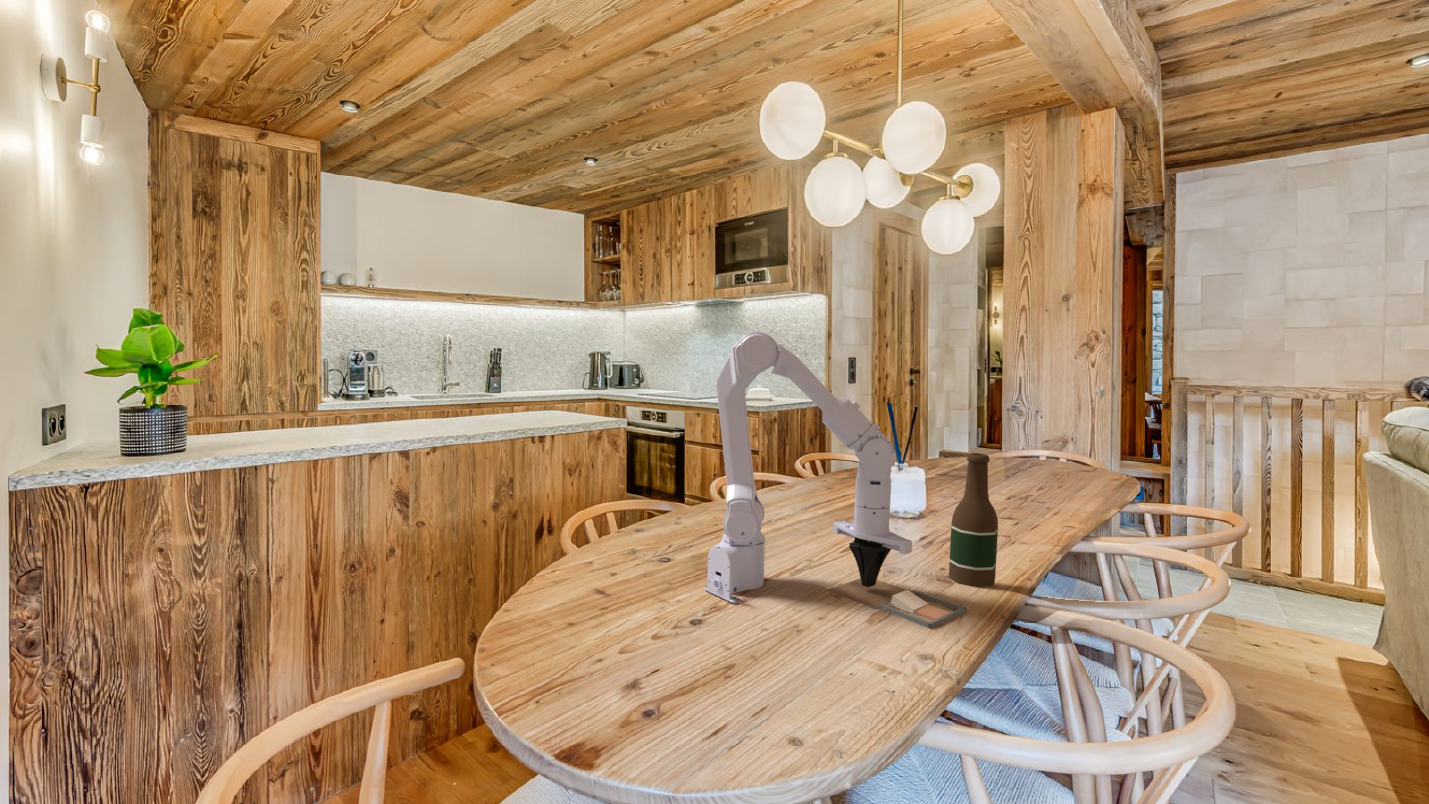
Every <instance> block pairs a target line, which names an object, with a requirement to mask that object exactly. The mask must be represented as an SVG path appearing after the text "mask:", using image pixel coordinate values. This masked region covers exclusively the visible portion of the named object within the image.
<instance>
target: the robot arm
mask: <svg viewBox="0 0 1429 804" xmlns="http://www.w3.org/2000/svg"><path fill="white" fill-rule="evenodd" d="M771 367H773V368H772V371H771V374H774V375H777V376H782V377H783V378H788V379H789V380H790V381H791V382H792V383H793V384H794V385H795V386H796V387H797V388H798V389H799V390H801V392H803V394H805V396H807V398H809V400H811V401H812V402H813V403H814V404H815V405H816V406H817V407H818V408H819V409H820V410H821V412H822V418H821V421H822V422H821V423H822V424H823V425H825V427H827V428H828V430H829V431H830V432H832V433H833V434H834V436H835V437H836V438H837V439H838V440H839V441H841V443H842V444H843V445H844V446H845V447H846V448H847V449H848V450H853V451H854V454H855V456H856V458H857V459H858V461H857V471H856V473H857V474H856V475H855V476H856V477H855V491H854V511H853V512H854V513H853V514H854V516H853V522H847V521H844V520H839V521H834V522H833V525H832V527H833V528H832V530H833V531H832V533H833V534H835V535H842V536H843V535H844V536H846V537H849V538H854V540H853V542H850V543H849V547H848V549H850V551H851V553H852V555H853V557H854V559H855V562H856V565H857V567H858V568H857V569H858V572H859V577H860V578H859V579H861V583H862V585H863V586H866V587H871V586H874V585H875V584H876V581H877V580H878V577H879V574H880V571H881V569H882V566H883V564H884V562H885V561H886V558H887V557H888V555H889V554H890V553H891V551H892V550H894V551H897V552H899V554H902V555H908V554H911V553H912V549H913V540H911V539H908V538H905V537H903V536H901V535H899V534H896V533H894V532H893V531H891V530H890V515H891V514H890V513H891V494H892V478H891V474H892V465H893V464H894V462H895V461H896V457H897V454H896V453H895V448H894V444H893V442H892V441H891V440H890V439H889V438H888V437H887V436H886V435H885V434H884V432H882V431H880V430H881V426H880V425H878V423H873V422H872V421H871V420H870V419H869V418H868V417H867V416H866V415H865V414H864V413H863V412H862V411H861V410H860V408H861V405H860V404H859V403H858V402H857V401H856V400H853V401H851V400H850V399H849V398H848V397H835V395H834V394H832V393H831V391H830V390H829V389H828V388H827V387H826V386H825V385H824V384H823V383H822V382H821V381H820V379H819V378H818V377H817V376H816V375H815V374H814V373H813V372H812V371H811V370H810V369H809V368H808V367H807V366H806V364H804V362H803V361H802V360H801V359H800V358H799V357H798V356H797V355H795V354H794V353H793V352H791V351H790V350H788V349H787V348H785V347H784V346H783V345H782V344H780V343H777V341H776V340H775V339H774V338H773V337H772V336H771V335H769V334H767V333H765V332H762V331H753V332H749V333H748V334H745V335H744V336H743V337H742V338H740V340H739V341H738V342H737V343H736V344H735V345H734V346H733V347H732V348H731V351H730V353H729V355H728V358H727V360H726V362H725V363H724V365H723V367H722V369H721V372H720V373H719V375H718V376H717V379H716V395H717V403H718V415H719V422H720V432H721V433H720V434H721V440H722V449H723V458H724V459H723V461H724V468H725V469H724V470H725V479H726V512H725V513H726V514H725V516H724V518H723V524H722V525H723V526H722V528H723V531H724V533H723V535H722V539H721V540H720V542H719V543H717V544H716V545H713V546H711V548H710V549H709V552H708V555H707V573H706V574H707V578H706V579H707V580H706V585H705V586H704V587H703V589H704V591H706V592H708V593H711V594H712V595H715V596H716V597H719V598H721V599H723V600H725V601H727V602H730V603H732V604H737V603H740V602H743V601H744V600H742V598H741V599H740V598H738V597H736V596H735V595H732V594H736V593H739V592H743V591H749V590H756V589H759V588H760V587H761V588H762V586H763V585H764V583H765V575H764V574H765V552H766V551H765V550H766V536H765V534H763V533H762V523H763V522H764V518H765V509H764V506H763V503H761V501H760V498H759V497H758V491H757V486H756V482H755V475H754V473H755V472H754V467H753V465H754V463H753V457H752V446H751V436H750V426H749V418H748V417H749V416H748V409H747V400H746V397H747V396H746V389H748V387H749V386H750V385H751V384H752V382H754V381H755V380H756V379H757V376H759V375H760V374H761V373H763V372H766V371H767V370H768V369H769V368H771Z"/></svg>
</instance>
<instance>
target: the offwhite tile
mask: <svg viewBox="0 0 1429 804" xmlns="http://www.w3.org/2000/svg"><path fill="white" fill-rule="evenodd" d="M905 590H906V591H903V592H900V593H898V594H895V595H893V596H892V599H891V603H890V604H892V605H893V606H892V607H894V608H895V607H896V608H898V609H901V610H904V611H906V612H908V613H909V612H910V613H912V614H915V613H914V611H915V610H917V609H919V608H922V607H924V606H927V605H929V603H928V602H927V601H925V599H923V598H920V597H918V596H916V595H914V594H913V593H911V592H912V591H911V590H908V589H905ZM910 591H911V592H910Z"/></svg>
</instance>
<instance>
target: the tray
mask: <svg viewBox="0 0 1429 804" xmlns="http://www.w3.org/2000/svg"><path fill="white" fill-rule="evenodd" d="M913 592H914V595H916V596H918V597H919V598H921V599H922V600H926V601H930V602H931V603H935V604H938V605H940V606H943V607H946V608H949V609H952V610H954V611H950V612H951V613H949V614H946V615H944V616H942V617H939V618H937V619H935V620H930V621H929V620H926V619H924V618H921V617H918V616H915V615H912V614H910V613H909V612H908V613H907V612H905V611H901V610H900V609H896V608H895V607H894V606H893V605H892V604H888V605H884V604H879V608H878V609H879V610H881V611H884V612H886V613H888V614H892V615H894V616H896V617H899V618H901V619H904V620H907V621H909V622H912V623H913V624H916V625H919V626H922V627H925V628H928V629H933V628H936V627H938V626H940V625H942V624H945V623H947V622H949V621H951V620H954V619H955V618H957V617H960V616H962V615H964V614H966V613H967V612H968V608H967V607H966V606H963V605H960V604H958V603H955V602H951V601H949V600H945V599H943V598H940V597H937V596H934V595H930V594H928V593H924V592H922V591H920V590H914V591H913Z"/></svg>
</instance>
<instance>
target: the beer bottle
mask: <svg viewBox="0 0 1429 804" xmlns="http://www.w3.org/2000/svg"><path fill="white" fill-rule="evenodd" d="M966 461H968V462H967V463H968V464H967V470H966V471H967V472H966V478H965V479H966V482H965V487H964V493H963V498H962V499H961V501H960V502H959V503H958V505H957V506H956V507H955V509H954V511H953V514H952V518H951V519H952V520H951V524H950V525H951V527H950V544H949V545H950V546H949V563H948V564H949V565H948V566H949V567H948V568H949V569H948V578H949V579H950V580H952V581H953V582H955V583H956V584H958V585H962V586H963V585H964V586H968V587H972V588H987V587H988V588H990V587H992V586H995V581H996V573H997V572H996V570H997V569H996V568H997V554H998V553H997V552H998V535H999V519H998V516H997V513H996V512H997V511H996V509H995V508H994V506H993V504H992V503H991V501H990V498H989V496H990V495H989V469H988V467H989V465H988V463H989V462H990V461H991V459H990V455H988V454H985V453H979V452H971V453H969V454H968V455H967V457H966Z"/></svg>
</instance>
